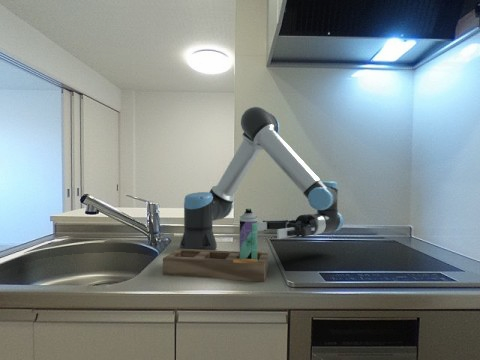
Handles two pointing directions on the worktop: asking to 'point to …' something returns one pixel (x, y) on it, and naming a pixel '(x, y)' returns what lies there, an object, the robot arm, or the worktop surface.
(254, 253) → the spray can
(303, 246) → the worktop surface
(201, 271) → the rack
